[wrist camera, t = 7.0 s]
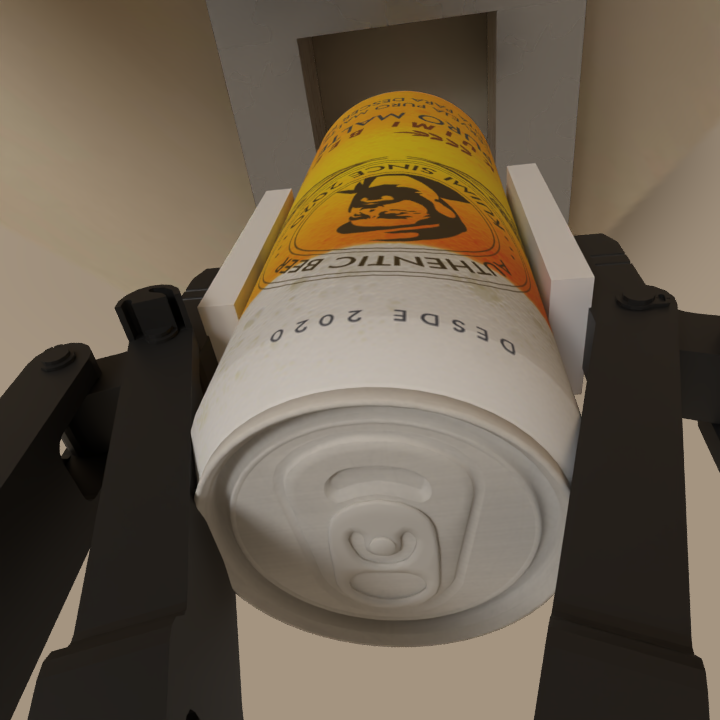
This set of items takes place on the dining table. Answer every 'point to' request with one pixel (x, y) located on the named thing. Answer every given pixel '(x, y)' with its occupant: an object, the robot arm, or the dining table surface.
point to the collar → (384, 8)
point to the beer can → (392, 397)
